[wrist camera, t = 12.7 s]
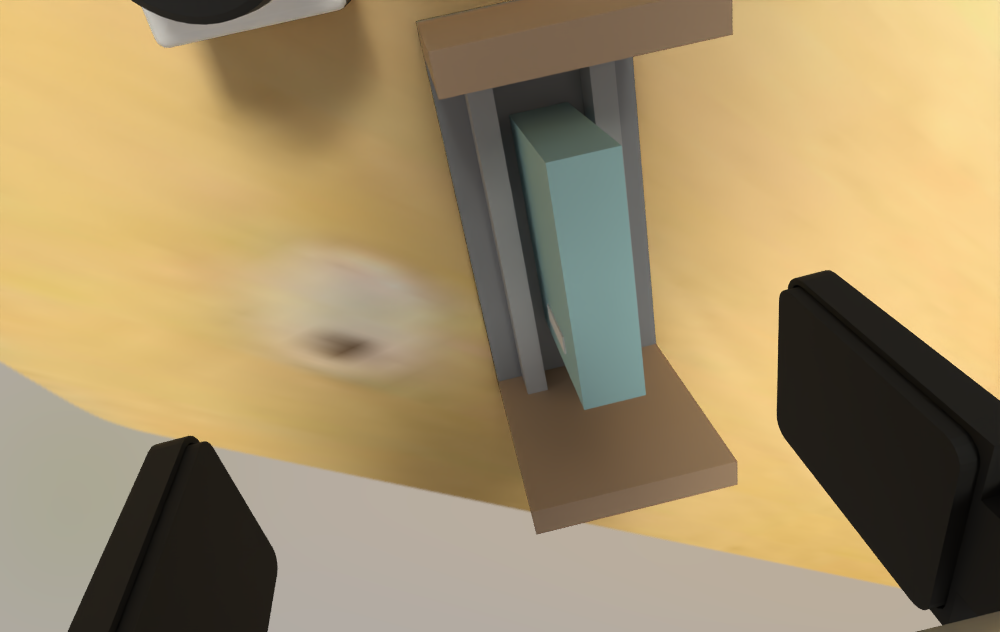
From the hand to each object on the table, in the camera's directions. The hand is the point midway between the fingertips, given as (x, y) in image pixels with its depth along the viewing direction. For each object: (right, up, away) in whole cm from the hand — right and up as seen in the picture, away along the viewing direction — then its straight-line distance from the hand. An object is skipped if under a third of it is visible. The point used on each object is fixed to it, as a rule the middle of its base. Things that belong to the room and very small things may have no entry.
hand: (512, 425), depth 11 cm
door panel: (+3, +7, +25) cm, 26 cm away
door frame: (+3, +8, +26) cm, 27 cm away
